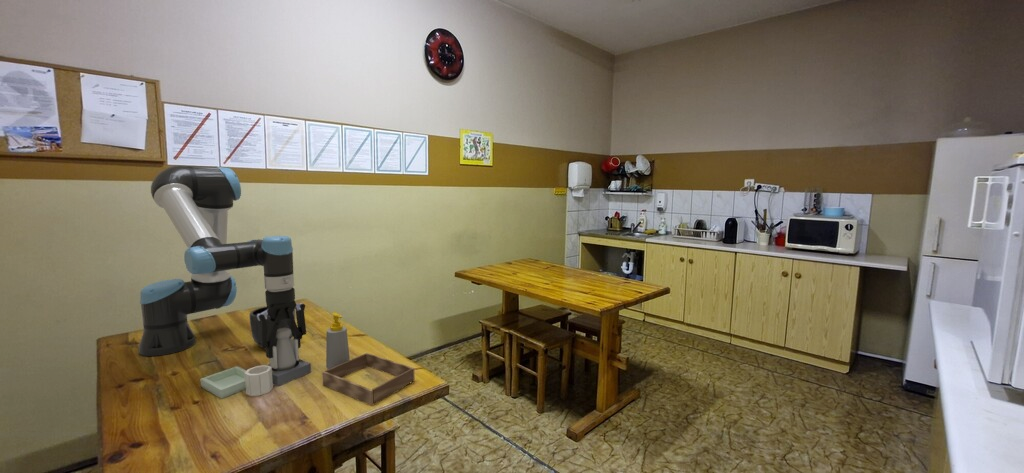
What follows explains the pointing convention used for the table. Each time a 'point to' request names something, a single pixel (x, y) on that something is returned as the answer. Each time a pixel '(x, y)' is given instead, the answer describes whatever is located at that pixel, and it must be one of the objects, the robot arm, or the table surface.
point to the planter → (255, 324)
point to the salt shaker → (284, 350)
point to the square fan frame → (291, 373)
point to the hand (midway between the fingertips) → (284, 363)
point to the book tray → (368, 396)
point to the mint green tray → (225, 382)
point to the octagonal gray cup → (258, 380)
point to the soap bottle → (336, 344)
